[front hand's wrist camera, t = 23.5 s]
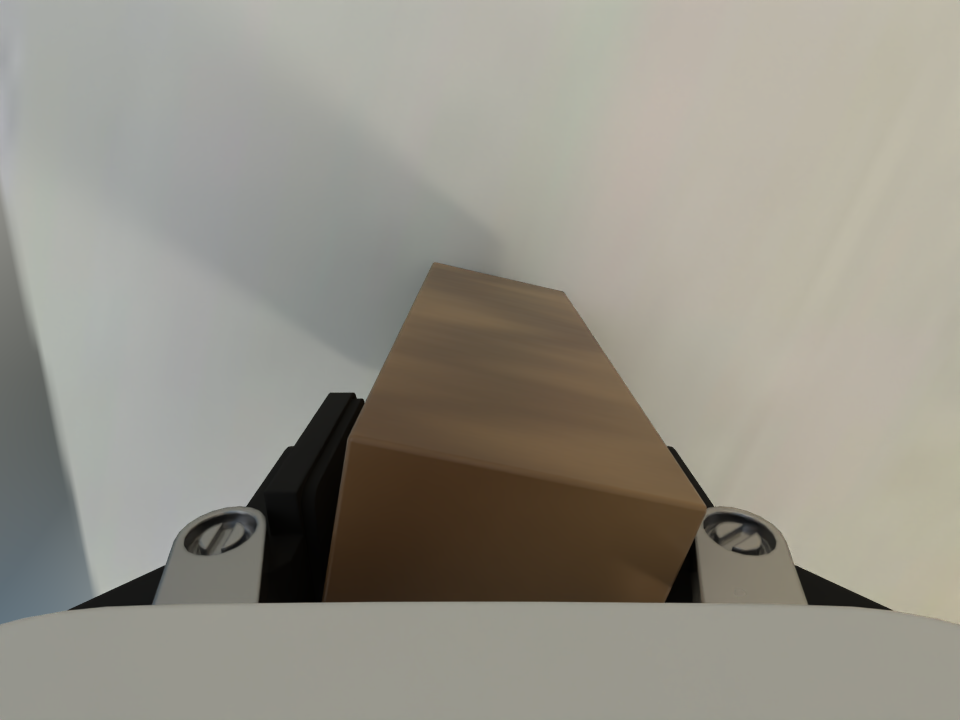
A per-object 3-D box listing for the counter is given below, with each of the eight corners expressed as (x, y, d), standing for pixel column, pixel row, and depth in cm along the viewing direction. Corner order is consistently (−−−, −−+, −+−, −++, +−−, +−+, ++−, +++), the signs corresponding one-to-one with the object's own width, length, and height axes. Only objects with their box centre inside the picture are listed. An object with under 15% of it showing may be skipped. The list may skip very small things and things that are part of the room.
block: (564, 291, 17) (710, 508, 6) (521, 439, 19) (575, 799, 8) (433, 261, 17) (347, 436, 6) (402, 415, 19) (296, 758, 8)
